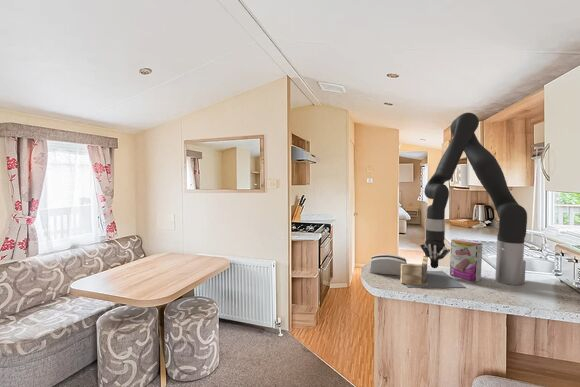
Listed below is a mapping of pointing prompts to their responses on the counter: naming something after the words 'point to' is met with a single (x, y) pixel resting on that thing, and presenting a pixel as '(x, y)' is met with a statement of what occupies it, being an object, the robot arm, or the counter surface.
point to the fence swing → (425, 260)
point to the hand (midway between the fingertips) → (434, 267)
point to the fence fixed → (413, 273)
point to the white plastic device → (386, 264)
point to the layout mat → (436, 281)
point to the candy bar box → (466, 259)
